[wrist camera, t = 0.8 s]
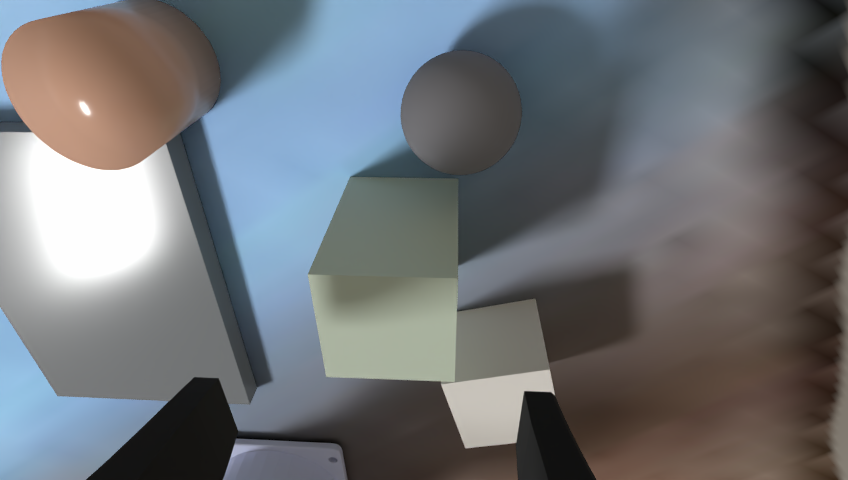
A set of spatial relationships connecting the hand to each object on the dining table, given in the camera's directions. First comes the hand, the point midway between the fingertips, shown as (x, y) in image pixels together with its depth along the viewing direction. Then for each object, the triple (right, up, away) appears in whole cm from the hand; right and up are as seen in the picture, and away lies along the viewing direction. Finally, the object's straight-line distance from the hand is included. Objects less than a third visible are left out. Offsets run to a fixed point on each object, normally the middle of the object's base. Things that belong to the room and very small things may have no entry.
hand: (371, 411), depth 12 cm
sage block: (0, +5, +7) cm, 9 cm away
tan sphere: (-8, +10, +5) cm, 13 cm away
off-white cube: (+5, 0, +10) cm, 11 cm away
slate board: (-12, +3, +10) cm, 16 cm away
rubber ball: (+2, +9, +4) cm, 10 cm away
